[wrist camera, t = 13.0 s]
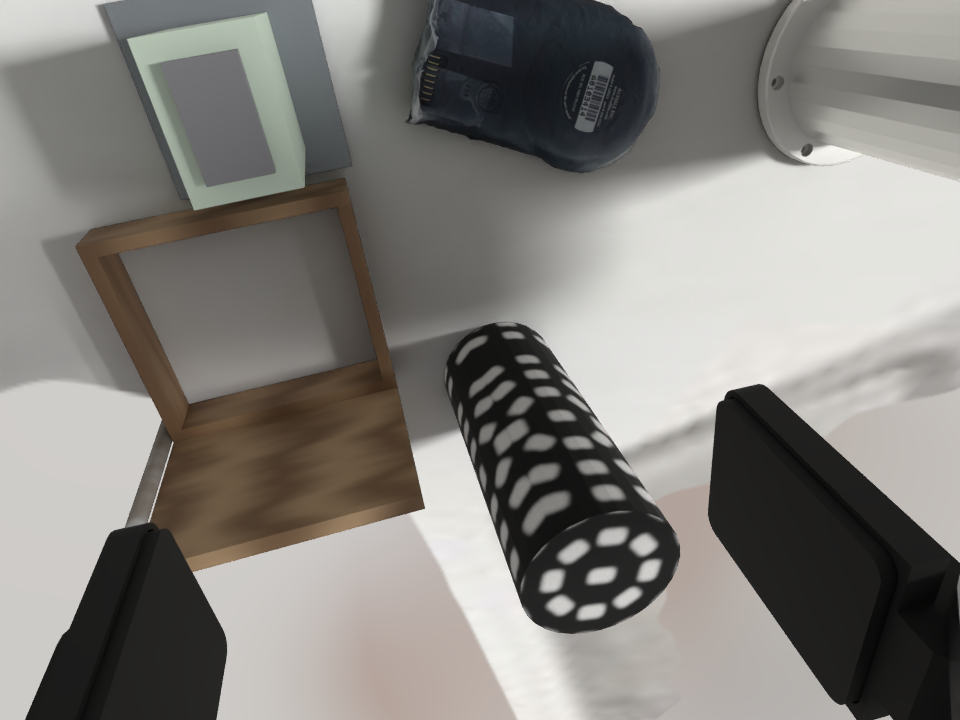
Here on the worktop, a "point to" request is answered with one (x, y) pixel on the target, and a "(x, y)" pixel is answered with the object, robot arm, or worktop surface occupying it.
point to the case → (260, 412)
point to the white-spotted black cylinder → (556, 485)
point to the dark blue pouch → (536, 78)
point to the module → (224, 108)
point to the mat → (288, 3)
